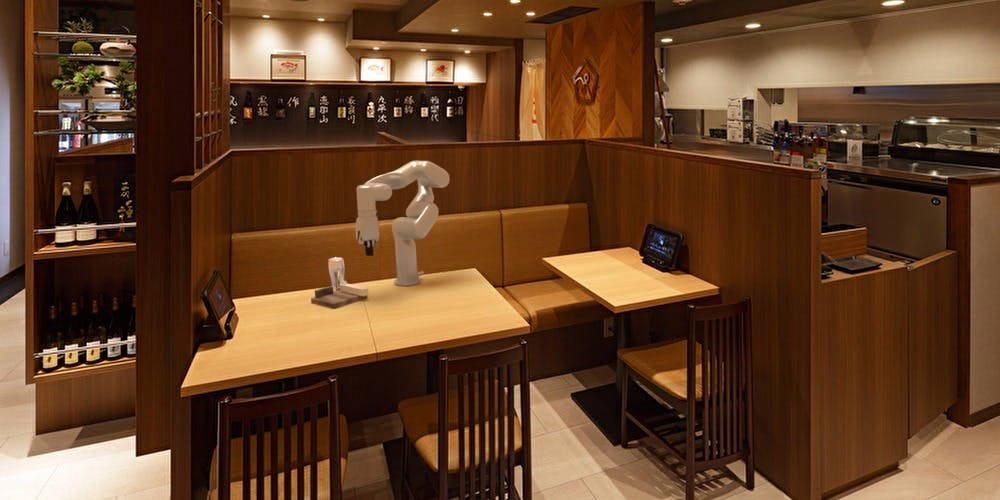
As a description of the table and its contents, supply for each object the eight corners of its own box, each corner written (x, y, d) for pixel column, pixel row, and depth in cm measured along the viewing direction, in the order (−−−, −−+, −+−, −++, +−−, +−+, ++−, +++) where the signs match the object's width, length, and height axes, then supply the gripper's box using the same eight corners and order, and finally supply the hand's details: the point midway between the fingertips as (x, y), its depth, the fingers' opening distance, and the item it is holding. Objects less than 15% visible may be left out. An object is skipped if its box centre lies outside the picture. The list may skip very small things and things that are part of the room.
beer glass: (342, 293, 255) (339, 260, 252) (327, 292, 257) (325, 260, 253) (348, 288, 262) (346, 257, 259) (335, 288, 263) (332, 256, 260)
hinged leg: (340, 291, 251) (339, 281, 250) (345, 289, 253) (344, 279, 252) (363, 296, 242) (362, 286, 241) (368, 294, 245) (367, 284, 244)
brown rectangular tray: (344, 292, 256) (343, 281, 255) (367, 297, 248) (366, 286, 247) (311, 302, 242) (310, 291, 241) (334, 308, 234) (333, 297, 232)
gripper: (374, 211, 252) (376, 251, 256) (347, 215, 240) (350, 257, 244) (385, 212, 248) (388, 253, 251) (359, 216, 236) (362, 259, 239)
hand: (369, 255), depth 248 cm, fingers closed
